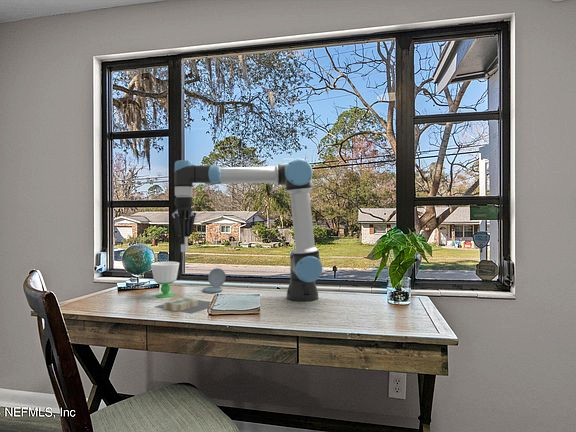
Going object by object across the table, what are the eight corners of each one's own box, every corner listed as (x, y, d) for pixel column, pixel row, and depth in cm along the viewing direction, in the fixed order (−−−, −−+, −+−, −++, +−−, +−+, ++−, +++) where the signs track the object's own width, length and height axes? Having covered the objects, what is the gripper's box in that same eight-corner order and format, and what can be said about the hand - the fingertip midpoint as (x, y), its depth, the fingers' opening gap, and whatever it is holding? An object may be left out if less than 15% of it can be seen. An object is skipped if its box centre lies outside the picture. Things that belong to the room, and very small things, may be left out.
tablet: (198, 299, 189) (177, 305, 179) (198, 305, 189) (178, 311, 179) (184, 297, 193) (164, 302, 183) (184, 303, 193) (164, 309, 183)
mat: (223, 305, 193) (223, 303, 193) (191, 315, 175) (191, 313, 175) (186, 299, 204) (186, 298, 204) (153, 308, 187) (153, 306, 187)
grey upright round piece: (226, 268, 228) (216, 272, 214) (227, 289, 229) (216, 295, 214) (209, 267, 231) (197, 272, 216) (209, 288, 231) (197, 294, 216)
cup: (152, 299, 204) (151, 266, 203) (149, 293, 216) (149, 262, 216) (181, 297, 209) (181, 264, 208) (177, 291, 221) (177, 260, 221)
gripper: (188, 197, 193) (188, 249, 194) (166, 196, 182) (166, 252, 183) (200, 196, 190) (201, 250, 190) (179, 196, 178) (179, 253, 179)
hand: (184, 251), depth 187 cm, fingers closed
